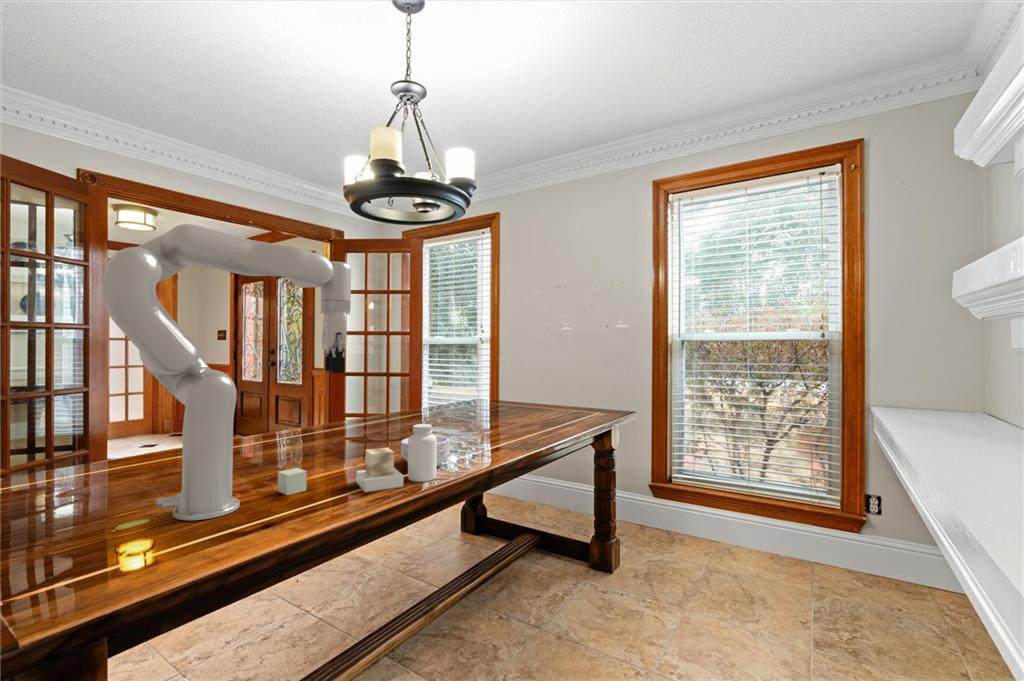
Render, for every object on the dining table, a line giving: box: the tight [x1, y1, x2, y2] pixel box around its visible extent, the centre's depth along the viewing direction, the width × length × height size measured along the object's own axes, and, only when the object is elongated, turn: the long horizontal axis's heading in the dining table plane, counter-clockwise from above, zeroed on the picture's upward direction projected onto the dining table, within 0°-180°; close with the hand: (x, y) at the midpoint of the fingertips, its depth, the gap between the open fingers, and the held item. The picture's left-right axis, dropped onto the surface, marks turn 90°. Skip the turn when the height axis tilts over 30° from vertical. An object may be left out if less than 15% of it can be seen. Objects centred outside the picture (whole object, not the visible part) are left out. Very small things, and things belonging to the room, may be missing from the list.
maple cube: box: [364, 447, 395, 477], centre depth 128 cm, size 6×6×6 cm
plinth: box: [355, 467, 404, 493], centre depth 128 cm, size 10×10×3 cm
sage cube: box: [277, 467, 308, 496], centre depth 121 cm, size 5×5×5 cm
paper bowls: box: [400, 435, 451, 467], centre depth 149 cm, size 15×15×8 cm
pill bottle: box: [407, 423, 438, 483], centre depth 134 cm, size 8×8×15 cm
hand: (334, 371), depth 127 cm, fingers open, 9 cm apart
